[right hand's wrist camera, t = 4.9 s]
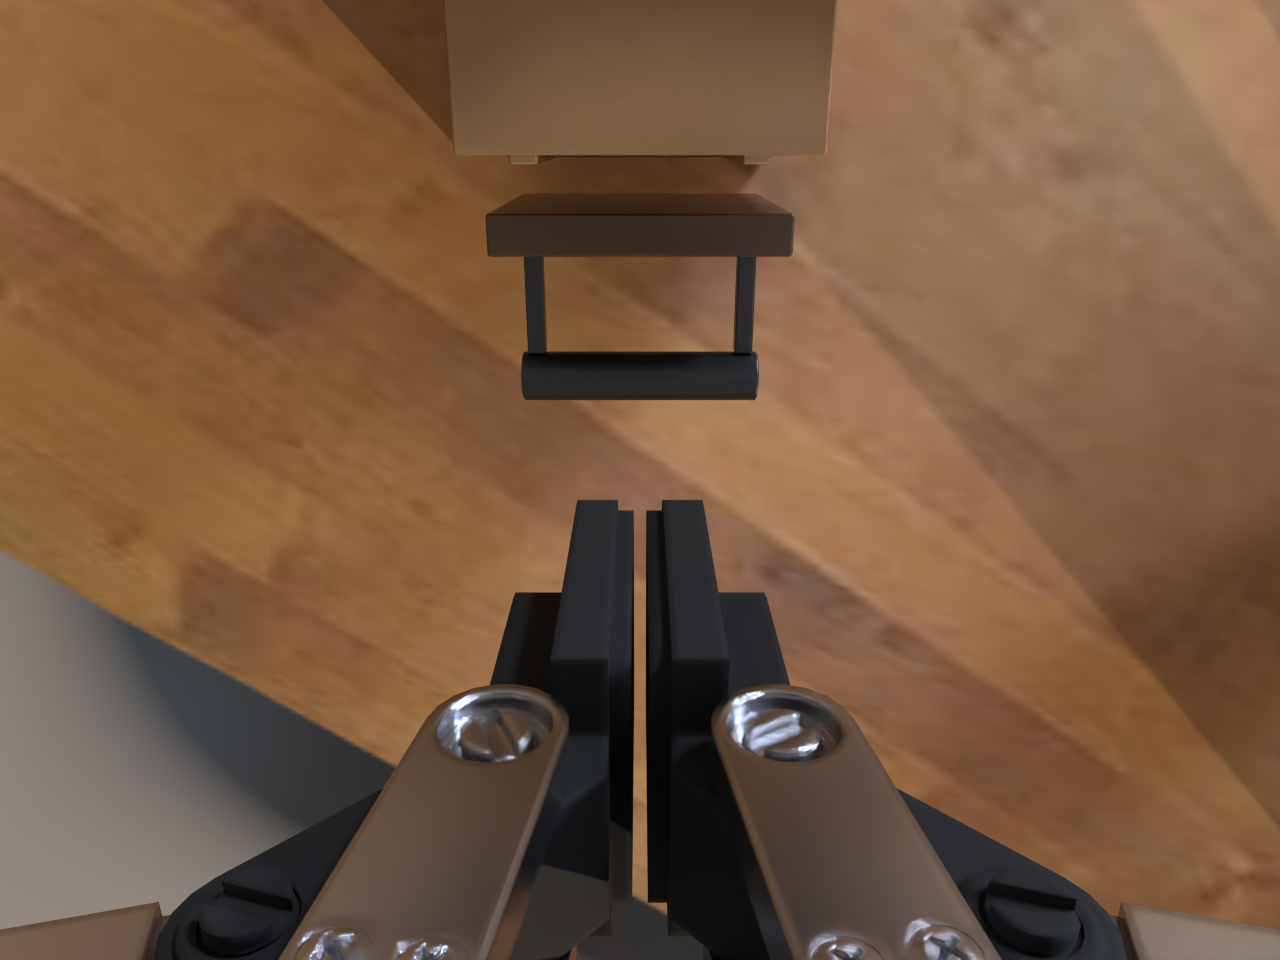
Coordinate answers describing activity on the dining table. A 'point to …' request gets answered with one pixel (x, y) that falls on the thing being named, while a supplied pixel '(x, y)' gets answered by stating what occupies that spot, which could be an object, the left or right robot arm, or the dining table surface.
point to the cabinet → (640, 76)
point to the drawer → (640, 232)
